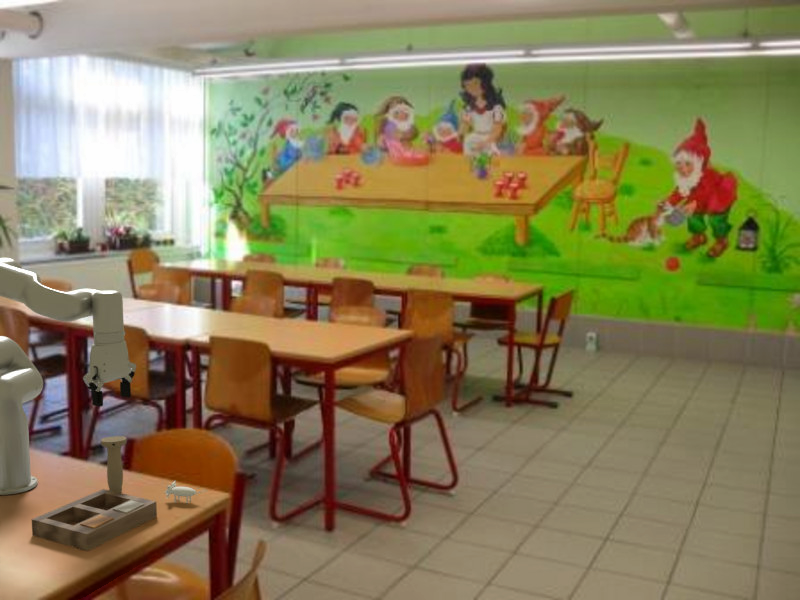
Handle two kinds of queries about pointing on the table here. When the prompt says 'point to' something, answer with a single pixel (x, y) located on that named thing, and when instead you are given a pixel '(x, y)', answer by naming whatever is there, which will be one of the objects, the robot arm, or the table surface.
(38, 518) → the socket block
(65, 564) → the table surface
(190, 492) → the white animal figurine
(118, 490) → the handle
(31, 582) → the table surface
